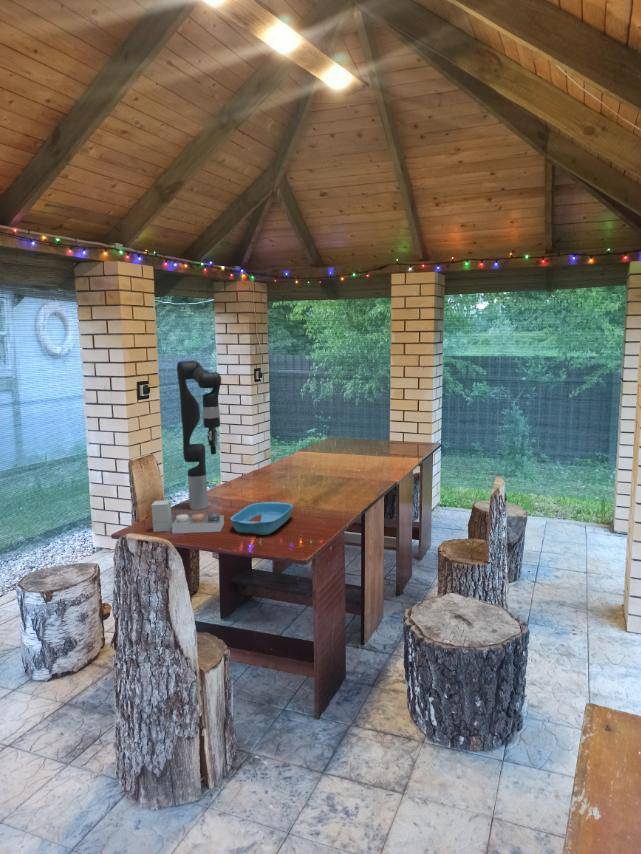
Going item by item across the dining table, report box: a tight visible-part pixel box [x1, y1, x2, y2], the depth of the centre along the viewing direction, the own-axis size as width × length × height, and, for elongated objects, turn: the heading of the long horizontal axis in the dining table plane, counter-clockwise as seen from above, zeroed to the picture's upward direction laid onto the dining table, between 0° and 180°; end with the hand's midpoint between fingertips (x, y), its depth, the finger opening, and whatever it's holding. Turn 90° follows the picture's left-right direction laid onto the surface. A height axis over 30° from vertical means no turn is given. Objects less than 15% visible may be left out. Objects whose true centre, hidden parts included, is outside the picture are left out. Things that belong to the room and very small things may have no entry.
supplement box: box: [150, 499, 173, 533], centre depth 267 cm, size 7×7×13 cm
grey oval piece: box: [175, 513, 189, 522], centre depth 263 cm, size 5×5×7 cm
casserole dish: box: [230, 501, 294, 536], centre depth 268 cm, size 37×22×7 cm, turn 165°
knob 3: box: [207, 512, 221, 520], centre depth 264 cm, size 5×5×7 cm
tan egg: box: [191, 512, 205, 521], centre depth 263 cm, size 5×5×7 cm
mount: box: [171, 514, 225, 534], centre depth 264 cm, size 12×21×5 cm, turn 91°
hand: (213, 454), depth 269 cm, fingers closed
